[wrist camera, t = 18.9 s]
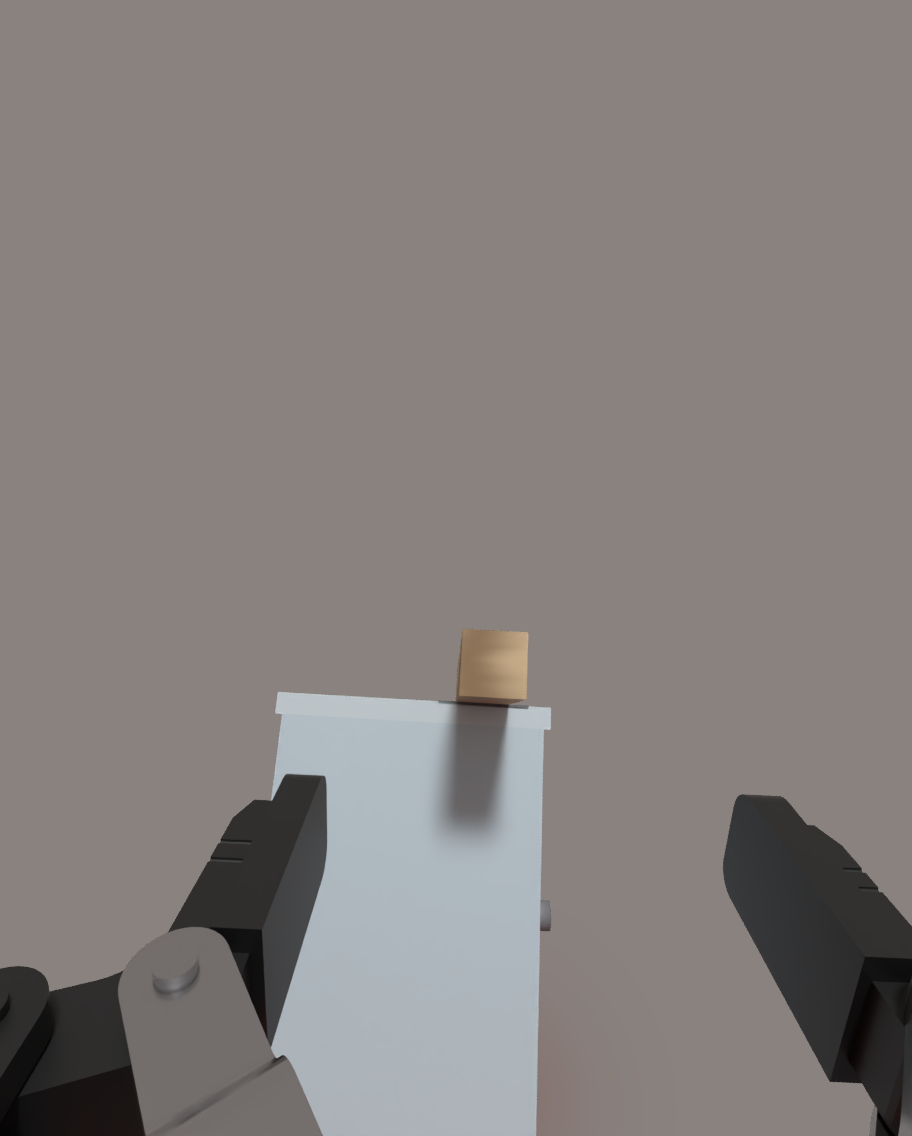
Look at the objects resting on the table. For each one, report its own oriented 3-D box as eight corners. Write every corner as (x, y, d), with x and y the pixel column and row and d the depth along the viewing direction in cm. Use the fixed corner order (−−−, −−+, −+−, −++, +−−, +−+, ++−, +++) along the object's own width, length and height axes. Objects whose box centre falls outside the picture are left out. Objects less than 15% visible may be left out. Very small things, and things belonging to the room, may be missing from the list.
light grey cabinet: (183, 1427, 26) (278, 691, 34) (269, 1199, 39) (324, 699, 47) (557, 1452, 26) (564, 707, 34) (522, 1215, 39) (534, 711, 47)
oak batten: (459, 695, 26) (462, 628, 27) (455, 707, 48) (457, 669, 48) (526, 699, 26) (528, 632, 27) (492, 709, 48) (493, 671, 48)
